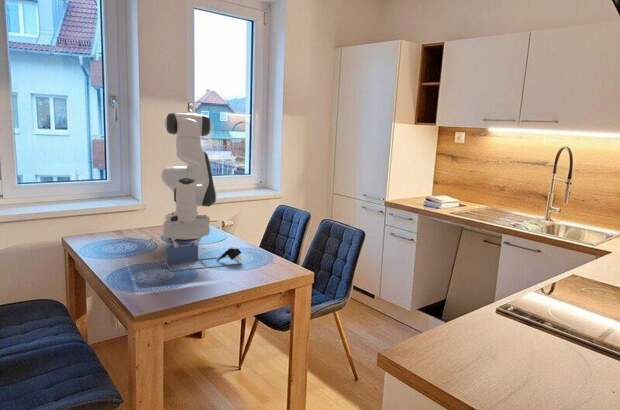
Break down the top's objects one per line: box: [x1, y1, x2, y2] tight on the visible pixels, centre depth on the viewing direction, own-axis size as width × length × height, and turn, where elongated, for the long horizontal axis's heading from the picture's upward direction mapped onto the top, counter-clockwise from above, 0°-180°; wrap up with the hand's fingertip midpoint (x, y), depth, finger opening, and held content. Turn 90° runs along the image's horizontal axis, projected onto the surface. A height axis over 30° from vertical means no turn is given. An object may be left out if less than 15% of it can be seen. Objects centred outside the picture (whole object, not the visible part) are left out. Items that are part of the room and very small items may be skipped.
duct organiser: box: [164, 241, 243, 272], centre depth 202 cm, size 15×32×8 cm, turn 118°
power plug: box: [216, 246, 243, 263], centre depth 204 cm, size 6×8×12 cm
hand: (186, 246), depth 197 cm, fingers open, 8 cm apart
